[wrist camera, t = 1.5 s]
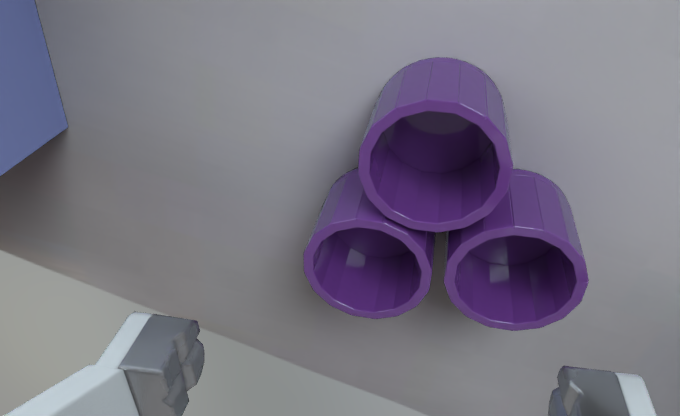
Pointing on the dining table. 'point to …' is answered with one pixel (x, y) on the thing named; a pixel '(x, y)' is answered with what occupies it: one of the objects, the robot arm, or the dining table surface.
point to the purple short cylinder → (437, 146)
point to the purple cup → (366, 255)
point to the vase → (25, 85)
